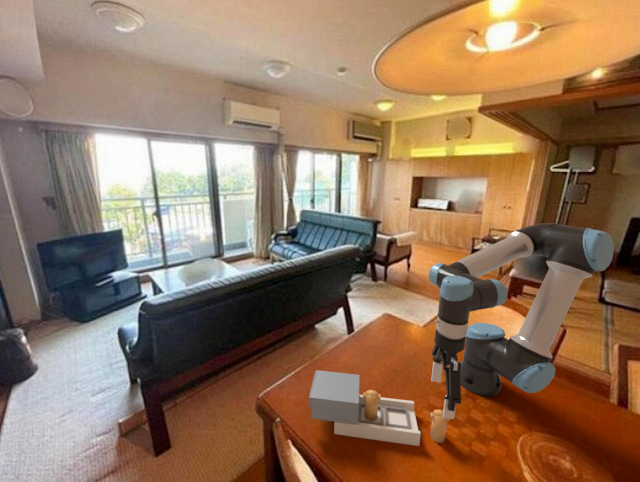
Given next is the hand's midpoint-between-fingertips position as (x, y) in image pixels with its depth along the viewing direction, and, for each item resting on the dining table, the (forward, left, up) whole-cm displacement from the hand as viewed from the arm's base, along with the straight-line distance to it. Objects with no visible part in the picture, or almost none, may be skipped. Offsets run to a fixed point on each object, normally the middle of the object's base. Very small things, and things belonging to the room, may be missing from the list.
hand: (441, 397), depth 82 cm
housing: (+18, -2, -14) cm, 23 cm away
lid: (+31, -2, -9) cm, 33 cm away
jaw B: (0, 0, -14) cm, 14 cm away
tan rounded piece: (+20, -2, -12) cm, 23 cm away
